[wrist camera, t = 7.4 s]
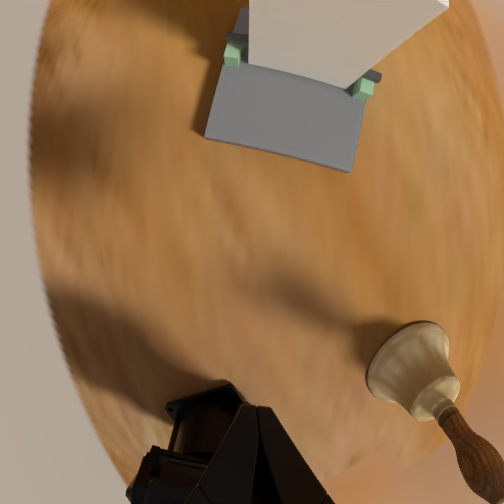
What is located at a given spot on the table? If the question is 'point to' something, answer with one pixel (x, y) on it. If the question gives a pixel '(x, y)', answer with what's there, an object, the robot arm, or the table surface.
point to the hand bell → (435, 400)
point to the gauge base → (285, 110)
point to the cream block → (331, 35)
